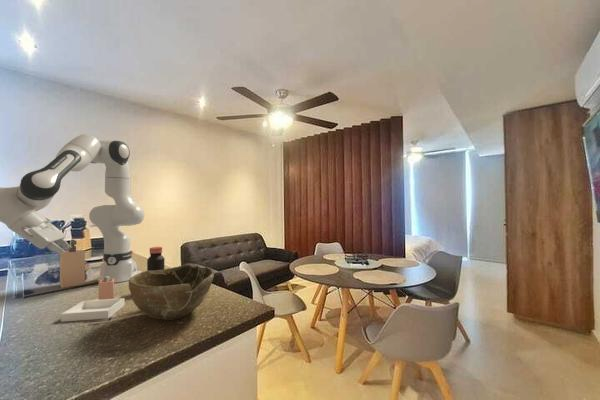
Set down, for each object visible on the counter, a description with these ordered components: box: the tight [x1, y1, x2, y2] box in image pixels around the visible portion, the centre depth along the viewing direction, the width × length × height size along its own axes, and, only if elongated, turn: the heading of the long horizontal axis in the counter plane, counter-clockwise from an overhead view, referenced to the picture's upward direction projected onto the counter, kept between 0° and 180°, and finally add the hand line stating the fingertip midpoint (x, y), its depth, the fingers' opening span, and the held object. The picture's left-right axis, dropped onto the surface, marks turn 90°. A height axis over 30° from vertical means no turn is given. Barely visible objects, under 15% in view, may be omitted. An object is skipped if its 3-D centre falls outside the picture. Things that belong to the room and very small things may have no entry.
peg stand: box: [94, 276, 122, 300], centre depth 107 cm, size 9×9×10 cm
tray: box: [60, 297, 126, 324], centre depth 95 cm, size 12×14×4 cm
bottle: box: [146, 246, 165, 271], centre depth 119 cm, size 7×7×20 cm
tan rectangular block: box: [59, 239, 86, 289], centre depth 131 cm, size 13×9×22 cm
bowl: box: [128, 264, 215, 321], centre depth 95 cm, size 28×27×15 cm
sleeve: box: [98, 279, 115, 300], centre depth 107 cm, size 5×5×8 cm
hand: (66, 250), depth 101 cm, fingers open, 8 cm apart
